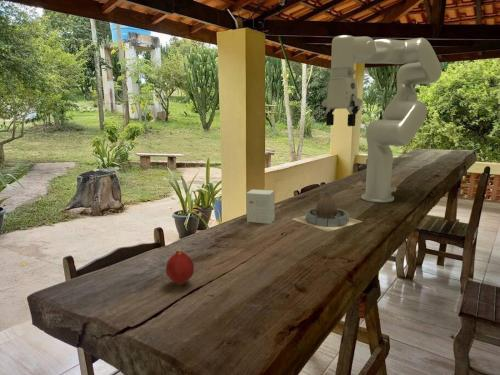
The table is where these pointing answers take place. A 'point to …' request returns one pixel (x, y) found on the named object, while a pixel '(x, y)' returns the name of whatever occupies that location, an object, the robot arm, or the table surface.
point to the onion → (180, 268)
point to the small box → (260, 206)
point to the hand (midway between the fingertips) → (340, 125)
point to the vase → (326, 206)
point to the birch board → (350, 222)
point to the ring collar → (327, 222)
